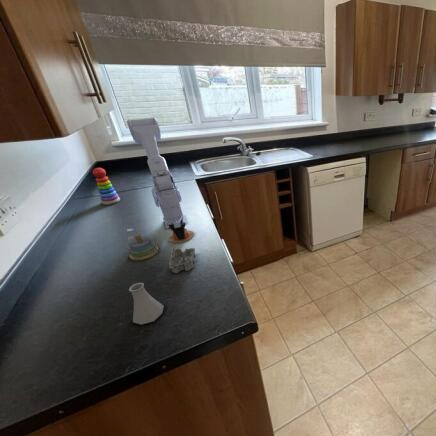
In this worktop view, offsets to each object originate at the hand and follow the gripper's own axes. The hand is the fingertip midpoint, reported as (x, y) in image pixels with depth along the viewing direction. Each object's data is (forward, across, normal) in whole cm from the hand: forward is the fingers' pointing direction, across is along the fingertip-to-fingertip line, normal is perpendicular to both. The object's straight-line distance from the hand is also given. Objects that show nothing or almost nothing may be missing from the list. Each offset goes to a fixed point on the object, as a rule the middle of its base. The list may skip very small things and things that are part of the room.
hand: (181, 235), depth 109 cm
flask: (+1, +40, -12) cm, 42 cm away
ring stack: (+1, +5, -13) cm, 14 cm away
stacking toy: (+1, -60, -28) cm, 66 cm away
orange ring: (0, 0, 0) cm, 0 cm away
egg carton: (+1, +20, -1) cm, 20 cm away
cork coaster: (+1, 0, 0) cm, 1 cm away
